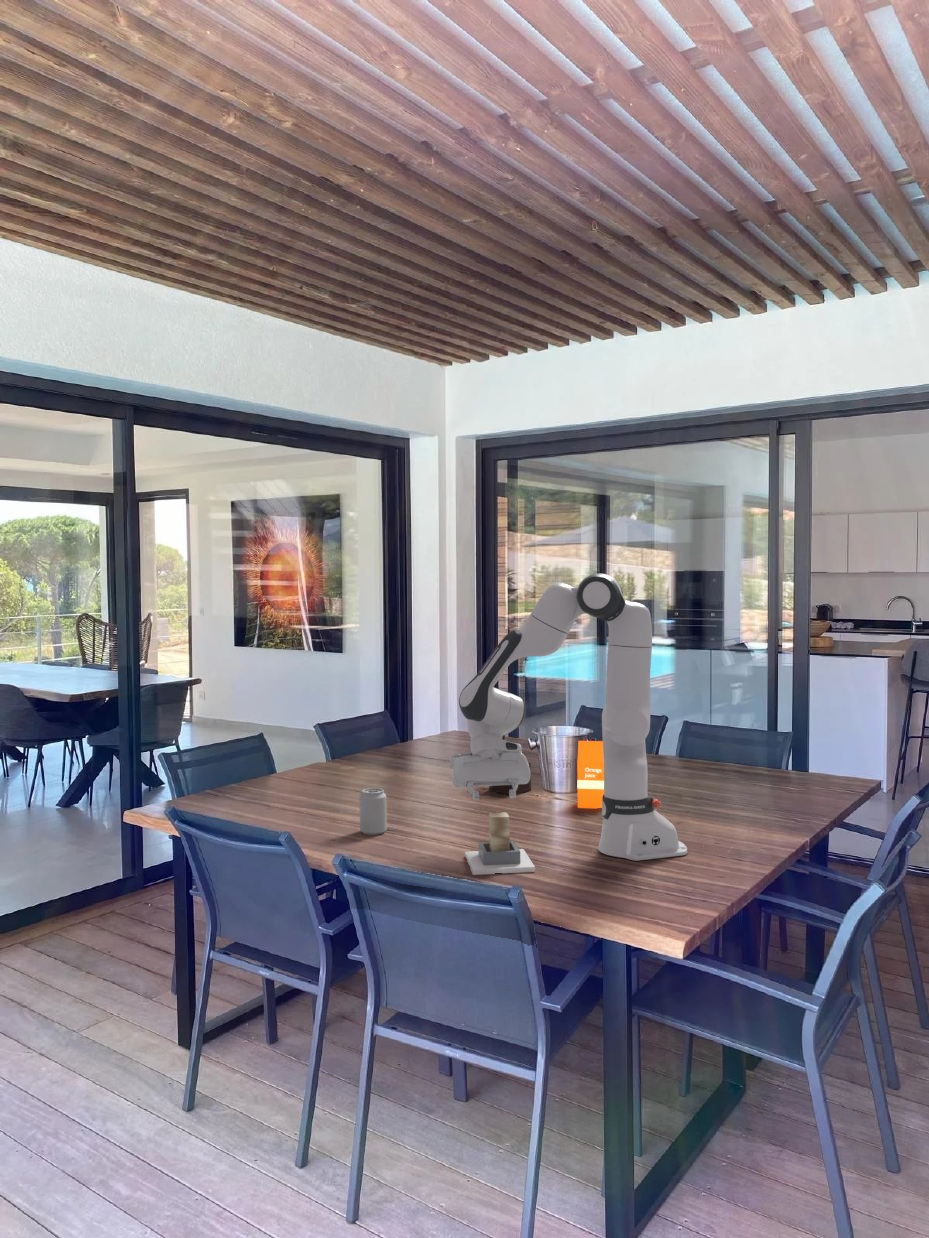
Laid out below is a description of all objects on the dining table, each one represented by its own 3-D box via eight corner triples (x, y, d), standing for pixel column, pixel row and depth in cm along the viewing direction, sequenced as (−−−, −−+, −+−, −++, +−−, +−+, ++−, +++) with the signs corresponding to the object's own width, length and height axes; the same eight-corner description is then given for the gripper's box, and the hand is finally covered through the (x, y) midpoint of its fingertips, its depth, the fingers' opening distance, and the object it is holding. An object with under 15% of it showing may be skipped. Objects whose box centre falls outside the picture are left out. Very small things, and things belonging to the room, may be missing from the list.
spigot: (506, 855, 230) (506, 812, 230) (509, 861, 226) (509, 816, 225) (489, 856, 230) (488, 812, 229) (491, 862, 225) (491, 817, 225)
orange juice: (606, 808, 281) (606, 743, 281) (577, 807, 283) (576, 742, 282) (607, 802, 289) (607, 739, 288) (579, 801, 291) (578, 738, 290)
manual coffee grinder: (533, 790, 307) (533, 736, 306) (510, 796, 300) (510, 740, 299) (500, 783, 318) (500, 731, 318) (477, 788, 311) (476, 735, 310)
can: (387, 828, 262) (387, 786, 261) (386, 835, 254) (385, 792, 254) (361, 829, 262) (360, 787, 261) (359, 836, 254) (358, 793, 254)
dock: (523, 853, 236) (523, 837, 236) (535, 871, 221) (534, 854, 221) (465, 856, 234) (465, 839, 234) (472, 874, 220) (472, 857, 219)
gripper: (449, 747, 240) (454, 793, 230) (527, 744, 242) (535, 789, 233) (447, 761, 244) (453, 806, 235) (524, 757, 247) (532, 802, 238)
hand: (494, 798), depth 234 cm, fingers open, 8 cm apart
